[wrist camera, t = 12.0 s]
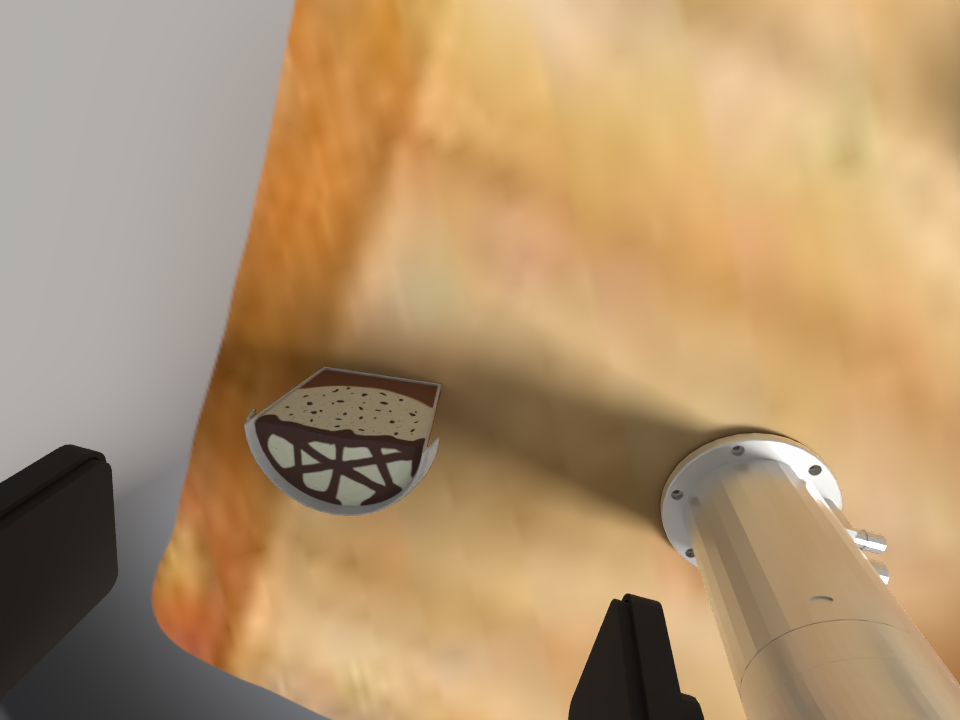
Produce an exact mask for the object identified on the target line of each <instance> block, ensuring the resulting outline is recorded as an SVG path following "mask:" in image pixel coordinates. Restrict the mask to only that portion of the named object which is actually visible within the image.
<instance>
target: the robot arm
mask: <svg viewBox="0 0 960 720" xmlns="http://www.w3.org/2000/svg"><path fill="white" fill-rule="evenodd" d="M735 446H736V447H735ZM842 507H843V502H842V494H841V489H840V487H839V484H838V482H837V479H836V477H835V476H834V474H833V473H832V472H831V470H830V469H829V467H828V466H827V465H826V464H825V463H824V462H823V460H822V459H821V458H820V457H819V456H818V455H817V454H816V453H814V452H813V451H811V450H810V449H809V448H807V447H806V446H804V445H802V444H800V443H798V442H796V441H794V440H791V439H789V438H785V437H781V436H777V435H773V434H762V433H747V434H736V435H732V436H728V437H724V438H720V439H717V440H715V441H712V442H710V443H708V444H705V445H703V446H702V447H700V448H698V449H697V450H695V451H694V452H692V453H690V454H689V455H688V456H687V457H686V458H685V459H684V460H682V461H681V462H680V463H679V464H678V465H677V467H676V468H675V469H674V471H673V472H672V473H671V475H670V476H669V478H668V480H667V482H666V484H665V486H664V488H663V493H662V497H661V518H662V522H663V527H664V530H665V532H666V535H667V537H668V540H669V541H670V543H671V544H672V546H673V547H674V549H675V550H676V551H677V552H678V553H679V554H680V555H681V556H682V558H684V559H685V560H686V561H688V562H689V563H691V564H692V565H694V566H695V567H697V568H699V571H700V574H701V577H702V580H703V583H704V586H705V590H706V593H707V596H708V599H709V602H710V605H711V608H712V611H713V615H714V618H715V621H716V624H717V627H718V630H719V633H720V636H721V639H722V643H723V646H724V649H725V652H726V655H727V658H728V661H729V664H730V668H731V671H732V674H733V677H734V680H735V683H736V686H737V689H738V692H739V696H740V699H741V702H742V705H743V708H744V711H745V714H746V717H747V720H960V684H959V683H958V681H957V680H956V679H955V677H954V676H953V675H952V673H951V672H950V671H949V669H948V668H947V667H946V665H945V664H944V662H943V661H942V660H941V658H940V657H939V656H938V654H937V653H936V652H935V650H934V649H933V648H932V646H931V645H930V644H929V642H928V641H927V639H926V638H925V637H924V635H923V634H922V633H921V631H920V630H919V629H918V627H917V626H916V624H915V623H914V622H913V620H912V619H911V618H910V616H909V615H908V614H907V612H906V611H905V610H904V608H903V607H902V605H901V604H900V603H899V601H898V600H897V599H896V597H895V596H894V595H893V593H892V592H891V590H890V589H889V588H888V586H887V585H886V584H887V582H888V578H889V575H888V569H887V567H886V565H885V564H883V563H882V562H880V561H876V560H872V559H868V558H866V556H865V555H864V554H863V552H862V551H861V550H865V551H869V552H873V553H876V554H881V553H882V552H883V551H884V550H885V547H886V540H885V538H884V536H883V535H881V534H878V533H874V532H870V531H866V530H859V529H855V528H853V526H852V525H851V524H850V522H849V521H848V520H847V518H846V517H845V516H844V514H843V513H842ZM860 549H861V550H860ZM117 576H118V565H117V549H116V533H115V516H114V501H113V484H112V469H111V466H110V465H109V464H108V463H106V459H105V456H104V455H103V454H102V453H100V452H97V451H93V450H90V449H86V448H82V447H78V446H75V445H71V444H70V445H64V446H62V447H59V448H58V449H56V450H54V451H53V452H51V453H49V454H48V455H46V456H44V457H43V458H41V459H40V460H38V461H36V462H34V463H33V464H31V465H30V466H28V467H26V468H25V469H23V470H22V471H19V472H18V473H16V474H15V475H13V476H11V477H10V478H8V479H6V480H5V481H3V482H1V483H0V700H1V699H2V698H3V697H4V696H5V695H6V694H7V693H8V692H9V691H10V690H11V689H12V688H13V687H14V686H15V685H16V684H17V683H18V682H19V681H20V680H21V679H22V678H23V677H24V676H25V675H26V674H27V673H28V672H29V671H30V670H31V669H32V668H33V667H34V666H35V665H36V664H37V663H38V662H39V661H40V660H41V659H42V658H43V657H44V656H45V655H46V654H47V653H48V652H49V651H50V650H51V649H52V648H53V647H54V646H55V645H56V644H57V643H59V641H60V640H62V638H64V637H65V636H66V635H67V634H68V633H69V632H70V630H72V628H74V627H75V626H76V625H77V623H79V622H80V621H81V620H82V619H83V618H84V617H85V616H86V615H87V614H88V613H89V612H90V611H91V610H92V609H93V608H94V607H95V606H96V605H97V604H98V603H99V602H100V601H101V600H102V599H103V598H104V597H105V596H106V595H107V594H108V593H109V591H110V590H111V589H112V587H113V586H114V584H115V582H116V579H117ZM568 720H704V716H703V713H702V710H701V707H700V704H699V703H698V701H697V700H696V698H695V697H693V696H690V695H687V694H683V693H681V692H680V687H679V683H678V678H677V673H676V669H675V664H674V659H673V655H672V650H671V645H670V641H669V636H668V632H667V627H666V622H665V618H664V613H663V609H662V606H661V604H660V603H659V602H658V601H654V600H651V599H647V598H643V597H640V596H636V595H632V594H625V595H624V597H623V599H622V601H621V600H617V599H613V600H612V601H611V603H610V606H609V608H608V611H607V613H606V616H605V618H604V621H603V623H602V626H601V628H600V631H599V633H598V636H597V638H596V641H595V643H594V645H593V648H592V650H591V653H590V655H589V658H588V660H587V663H586V665H585V668H584V670H583V673H582V675H581V678H580V680H579V683H578V685H577V688H576V690H575V693H574V695H573V698H572V701H571V704H570V709H569V717H568Z"/></svg>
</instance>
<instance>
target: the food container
mask: <svg viewBox="0 0 960 720" xmlns="http://www.w3.org/2000/svg"><path fill="white" fill-rule="evenodd" d="M441 385H442V384H439V383H432V382H426V381H419V380H412V379H406V378H399V377H392V376H385V375H379V374H372V373H365V372H359V371H352V370H345V369H339V368H332V367H325V366H324V367H323V368H321V369H320V370H318V371H317V372H316V373H314V374H313V375H311V376H310V377H309V378H307V379H306V380H304V381H303V382H302V383H300V384H299V385H297V386H296V387H295V388H293V389H292V390H290V391H289V392H288V393H286V394H285V395H283V396H282V397H281V398H279V399H278V400H276V401H275V402H274V403H272V404H271V405H269V406H268V407H267V408H265V409H264V410H262V411H261V412H260V413H258V414H257V415H256V409H252V411H251V412H250V414H249V415H248V417H247V418H246V423H245V424H244V427H245V434H246V438H247V441H248V444H249V448H250V450H251V452H252V454H253V456H254V458H255V460H256V462H257V464H258V465H259V467H260V468H261V470H262V471H263V473H264V474H265V475H266V476H267V477H268V478H269V479H270V480H271V482H272V483H273V484H274V485H276V486H277V487H278V488H279V489H280V490H281V491H282V492H284V493H285V494H287V495H288V496H289V497H291V498H292V499H294V500H296V501H297V502H299V503H301V504H303V505H305V506H307V507H310V508H312V509H315V510H318V511H321V512H325V513H329V514H334V515H344V516H354V515H364V514H369V513H373V512H376V511H379V510H382V509H384V508H386V507H388V506H390V505H392V504H394V503H396V502H397V501H399V500H401V499H402V498H403V497H404V496H406V495H407V494H408V493H409V492H410V491H411V490H412V489H413V488H414V487H415V486H416V485H417V483H418V482H419V481H420V480H421V479H422V478H423V477H424V475H425V474H426V473H427V471H428V470H429V468H430V466H431V465H432V463H433V460H434V458H435V455H436V452H437V448H438V443H439V438H436V439H435V440H434V441H433V443H432V444H431V445H430V446H429V447H427V446H428V442H429V438H430V434H431V429H432V425H433V421H434V417H435V413H436V409H437V405H438V400H439V396H440V391H441Z"/></svg>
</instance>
